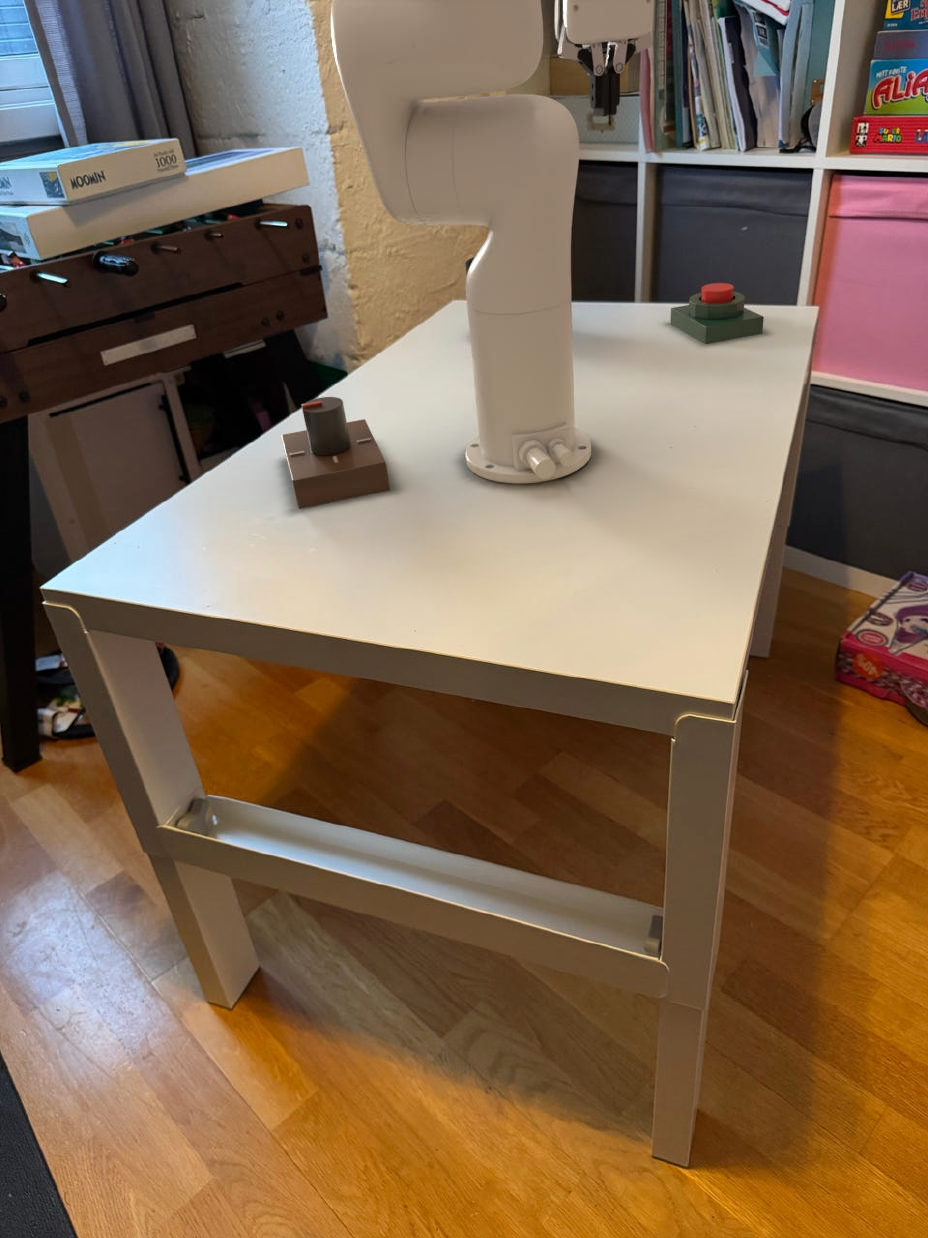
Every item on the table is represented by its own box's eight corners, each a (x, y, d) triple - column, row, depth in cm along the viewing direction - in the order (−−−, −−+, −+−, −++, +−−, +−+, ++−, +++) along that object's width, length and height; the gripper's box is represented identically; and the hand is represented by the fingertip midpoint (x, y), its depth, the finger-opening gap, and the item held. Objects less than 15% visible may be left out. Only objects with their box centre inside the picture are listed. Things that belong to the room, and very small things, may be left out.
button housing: (762, 333, 113) (765, 301, 111) (705, 344, 112) (707, 312, 109) (723, 314, 121) (725, 284, 119) (670, 324, 120) (671, 294, 118)
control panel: (390, 490, 86) (385, 460, 84) (298, 508, 84) (291, 478, 83) (369, 444, 95) (364, 417, 94) (286, 460, 94) (280, 433, 92)
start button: (738, 302, 113) (739, 287, 112) (710, 307, 112) (710, 293, 111) (723, 294, 116) (724, 281, 115) (695, 299, 116) (696, 286, 115)
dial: (347, 436, 90) (339, 390, 87) (353, 450, 87) (345, 404, 84) (308, 443, 89) (299, 398, 87) (313, 458, 86) (303, 412, 84)
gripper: (656, -90, 95) (651, 105, 106) (524, -78, 93) (533, 120, 103) (687, -100, 89) (679, 108, 99) (547, -87, 87) (554, 124, 97)
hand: (604, 114), depth 101 cm, fingers closed
